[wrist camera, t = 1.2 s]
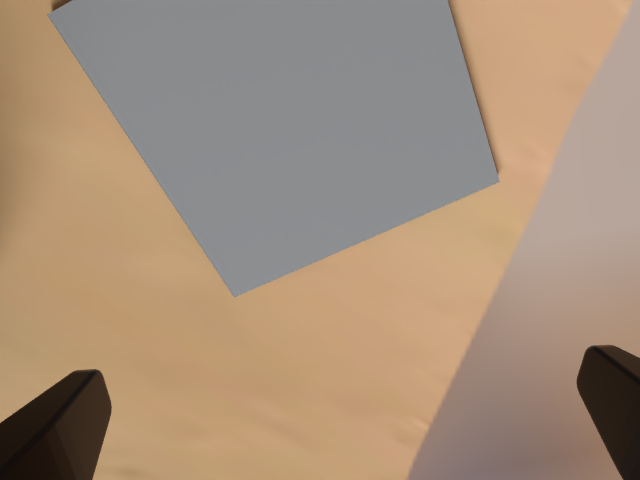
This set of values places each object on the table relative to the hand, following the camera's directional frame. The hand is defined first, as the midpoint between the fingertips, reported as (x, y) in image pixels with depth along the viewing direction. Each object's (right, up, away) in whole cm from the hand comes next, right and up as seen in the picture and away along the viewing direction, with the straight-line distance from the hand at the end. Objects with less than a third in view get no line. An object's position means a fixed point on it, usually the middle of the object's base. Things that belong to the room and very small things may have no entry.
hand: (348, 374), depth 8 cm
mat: (-1, +8, +10) cm, 13 cm away
